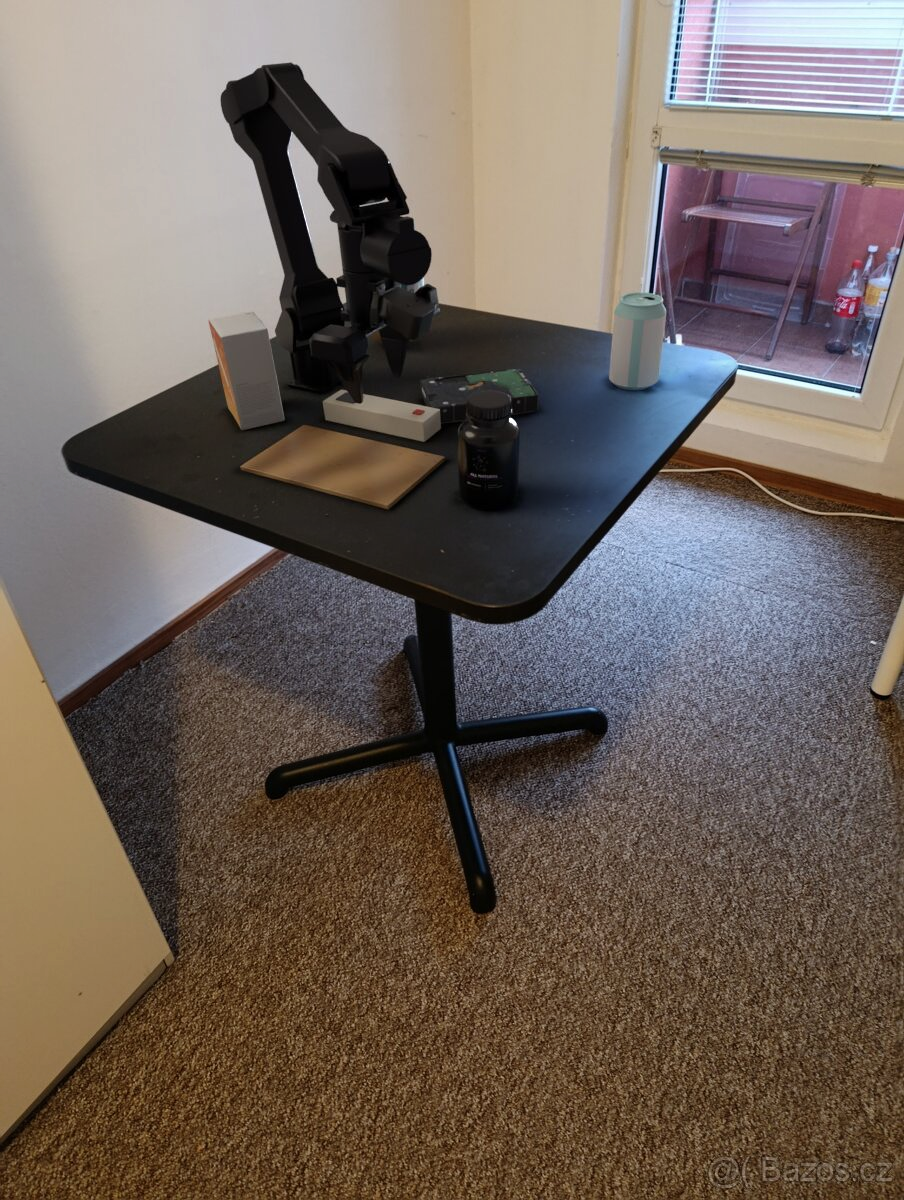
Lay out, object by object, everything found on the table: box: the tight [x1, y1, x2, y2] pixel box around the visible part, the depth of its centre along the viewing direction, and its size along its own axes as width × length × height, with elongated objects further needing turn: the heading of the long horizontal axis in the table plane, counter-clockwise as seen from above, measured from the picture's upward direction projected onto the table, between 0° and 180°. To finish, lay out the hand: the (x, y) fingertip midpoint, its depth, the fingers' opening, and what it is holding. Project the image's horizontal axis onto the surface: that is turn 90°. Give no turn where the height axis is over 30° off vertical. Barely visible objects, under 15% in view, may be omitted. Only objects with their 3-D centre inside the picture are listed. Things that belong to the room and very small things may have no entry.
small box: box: [207, 311, 286, 431], centre depth 109 cm, size 8×6×13 cm
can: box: [608, 291, 667, 391], centre depth 113 cm, size 7×7×12 cm
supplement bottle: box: [457, 391, 521, 511], centre depth 89 cm, size 7×7×12 cm
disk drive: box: [420, 368, 540, 425], centre depth 112 cm, size 10×3×15 cm
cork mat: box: [239, 424, 446, 510], centre depth 100 cm, size 22×13×1 cm, turn 61°
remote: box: [322, 389, 442, 443], centre depth 109 cm, size 16×4×3 cm, turn 61°
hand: (378, 389), depth 107 cm, fingers open, 9 cm apart
